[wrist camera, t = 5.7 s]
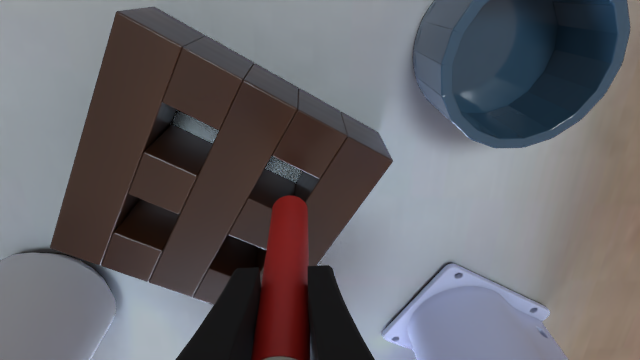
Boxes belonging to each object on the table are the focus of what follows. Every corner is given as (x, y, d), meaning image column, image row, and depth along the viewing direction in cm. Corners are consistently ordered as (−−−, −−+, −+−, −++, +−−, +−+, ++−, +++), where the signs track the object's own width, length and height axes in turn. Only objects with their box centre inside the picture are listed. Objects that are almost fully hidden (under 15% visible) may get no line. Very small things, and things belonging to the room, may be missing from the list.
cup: (591, 17, 16) (671, 26, 13) (487, 140, 19) (529, 175, 16) (481, -75, 14) (538, -95, 11) (384, 76, 17) (404, 99, 14)
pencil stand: (379, 132, 19) (393, 161, 15) (276, 281, 23) (272, 325, 20) (153, 6, 15) (115, 10, 12) (87, 208, 20) (48, 248, 17)
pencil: (314, 203, 14) (326, 424, 7) (297, 229, 14) (291, 458, 7) (282, 188, 13) (259, 405, 6) (265, 215, 14) (227, 443, 7)
